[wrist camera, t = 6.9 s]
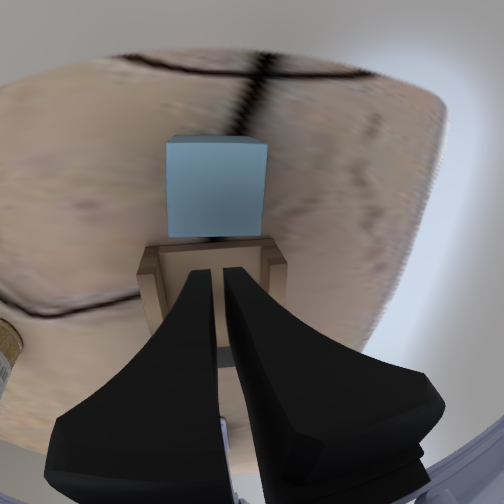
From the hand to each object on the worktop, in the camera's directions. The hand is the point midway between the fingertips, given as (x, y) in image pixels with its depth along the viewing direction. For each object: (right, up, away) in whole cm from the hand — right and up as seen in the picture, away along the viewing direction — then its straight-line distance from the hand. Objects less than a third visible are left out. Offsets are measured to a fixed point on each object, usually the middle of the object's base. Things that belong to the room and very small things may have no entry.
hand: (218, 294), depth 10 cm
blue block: (-1, +3, +6) cm, 7 cm away
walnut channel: (-2, -3, +12) cm, 13 cm away
